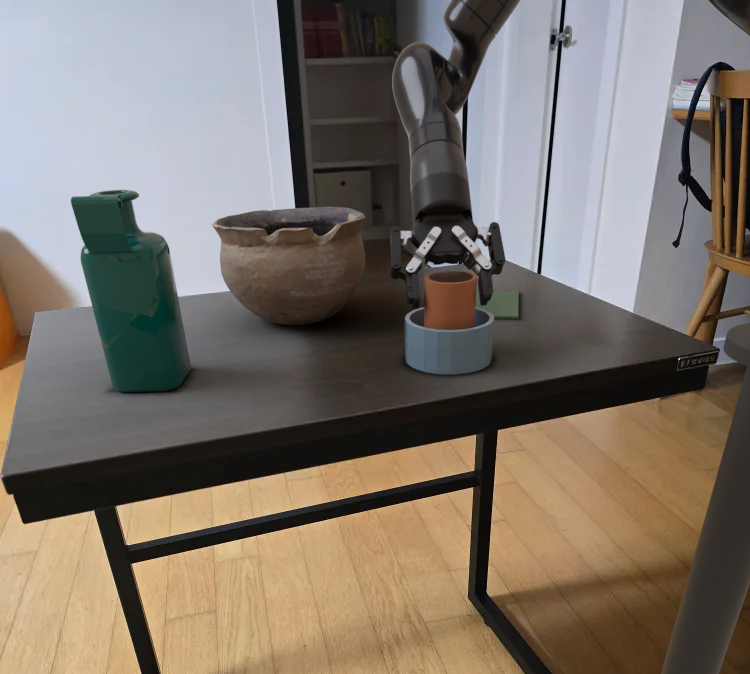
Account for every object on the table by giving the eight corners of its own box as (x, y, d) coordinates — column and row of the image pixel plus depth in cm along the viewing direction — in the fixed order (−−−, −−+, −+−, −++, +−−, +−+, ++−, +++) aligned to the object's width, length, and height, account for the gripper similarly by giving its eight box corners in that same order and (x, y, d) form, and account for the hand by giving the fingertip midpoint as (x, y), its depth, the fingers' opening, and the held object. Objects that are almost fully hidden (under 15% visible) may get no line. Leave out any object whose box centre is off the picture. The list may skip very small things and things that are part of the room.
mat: (518, 293, 113) (518, 291, 112) (518, 318, 101) (518, 316, 101) (435, 292, 115) (435, 289, 115) (426, 316, 103) (426, 313, 103)
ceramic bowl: (239, 348, 93) (223, 234, 85) (217, 307, 111) (202, 210, 103) (388, 327, 99) (386, 219, 91) (344, 292, 117) (339, 198, 109)
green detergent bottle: (131, 368, 88) (88, 185, 76) (195, 367, 88) (161, 183, 76) (104, 398, 80) (51, 198, 68) (174, 397, 79) (134, 195, 68)
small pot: (474, 347, 90) (478, 270, 84) (471, 364, 84) (475, 283, 79) (426, 346, 91) (427, 269, 85) (420, 362, 85) (421, 282, 80)
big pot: (492, 345, 91) (495, 305, 88) (489, 376, 82) (492, 332, 79) (411, 343, 93) (411, 303, 90) (399, 372, 84) (399, 329, 81)
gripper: (386, 171, 83) (395, 290, 79) (500, 167, 83) (514, 285, 79) (384, 211, 90) (392, 321, 86) (488, 206, 90) (501, 316, 87)
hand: (450, 303), depth 83 cm, fingers open, 8 cm apart
